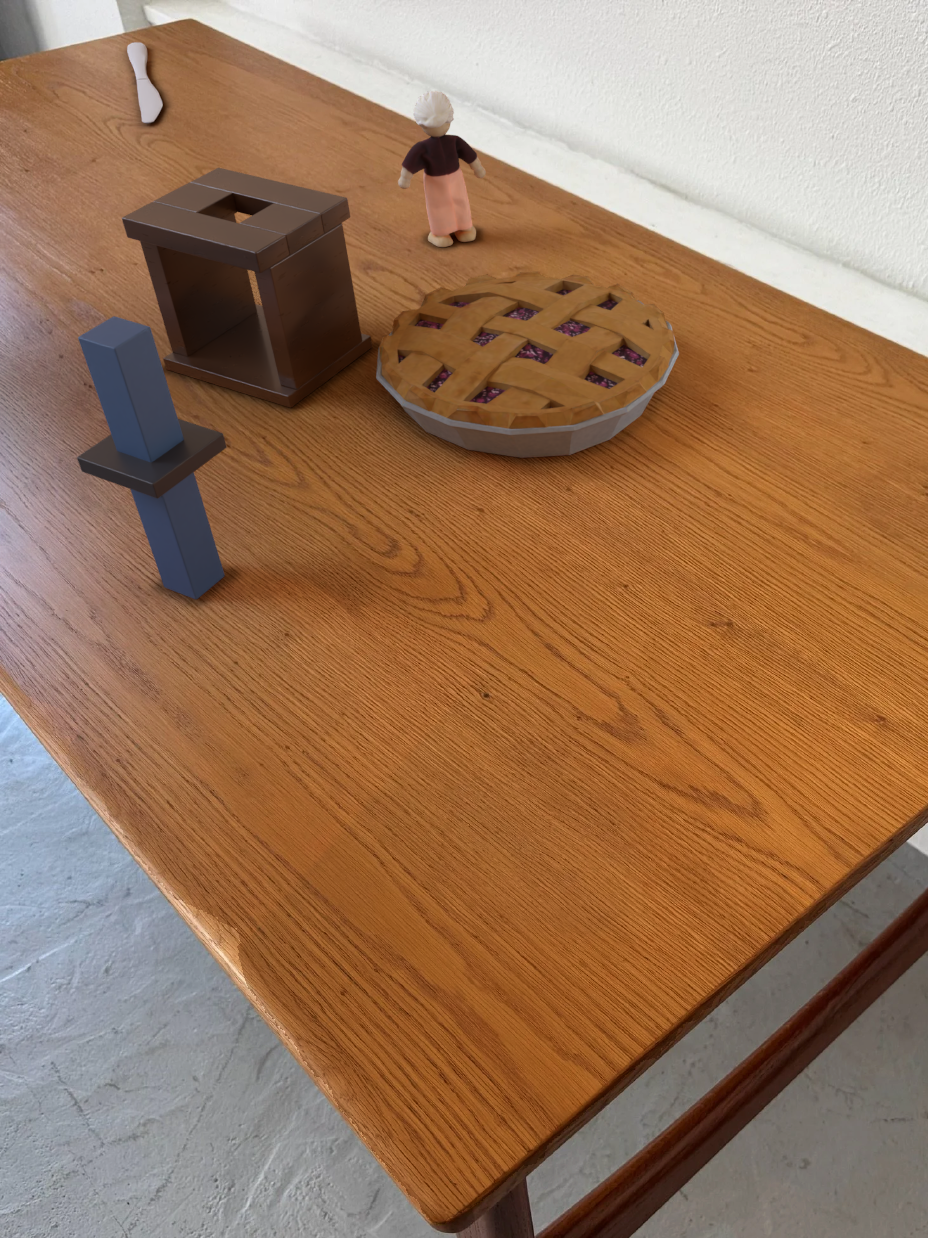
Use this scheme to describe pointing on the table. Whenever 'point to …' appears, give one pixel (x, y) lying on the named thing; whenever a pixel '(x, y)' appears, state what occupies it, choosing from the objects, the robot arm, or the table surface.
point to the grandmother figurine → (442, 171)
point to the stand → (221, 290)
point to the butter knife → (144, 83)
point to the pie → (527, 363)
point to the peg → (152, 453)
